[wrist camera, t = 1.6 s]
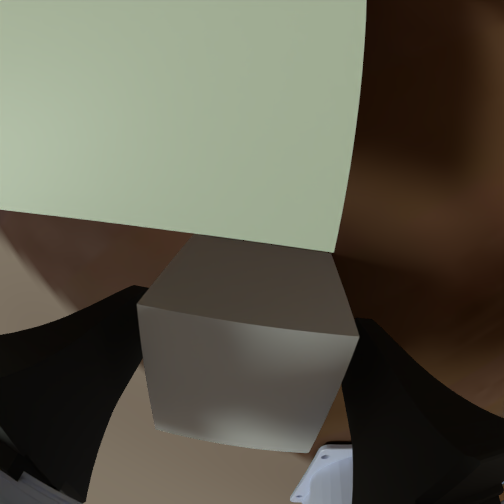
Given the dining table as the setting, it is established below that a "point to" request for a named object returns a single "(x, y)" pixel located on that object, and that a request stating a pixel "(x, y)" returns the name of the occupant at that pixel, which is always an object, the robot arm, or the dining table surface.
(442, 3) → the dining table surface
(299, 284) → the white cube
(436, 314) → the dining table surface
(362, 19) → the trapdoor
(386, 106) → the dining table surface
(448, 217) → the dining table surface
